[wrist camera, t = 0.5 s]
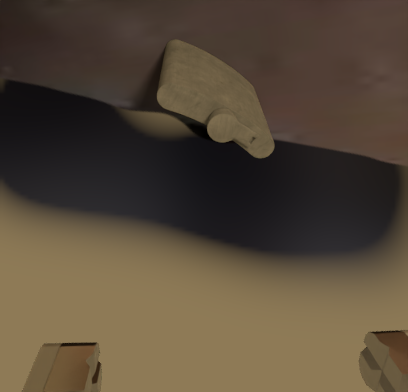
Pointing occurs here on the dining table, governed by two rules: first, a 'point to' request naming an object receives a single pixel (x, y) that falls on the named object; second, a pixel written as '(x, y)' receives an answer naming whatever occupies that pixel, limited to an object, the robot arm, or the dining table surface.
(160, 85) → the hip flask
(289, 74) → the dining table surface
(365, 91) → the dining table surface
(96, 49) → the dining table surface
